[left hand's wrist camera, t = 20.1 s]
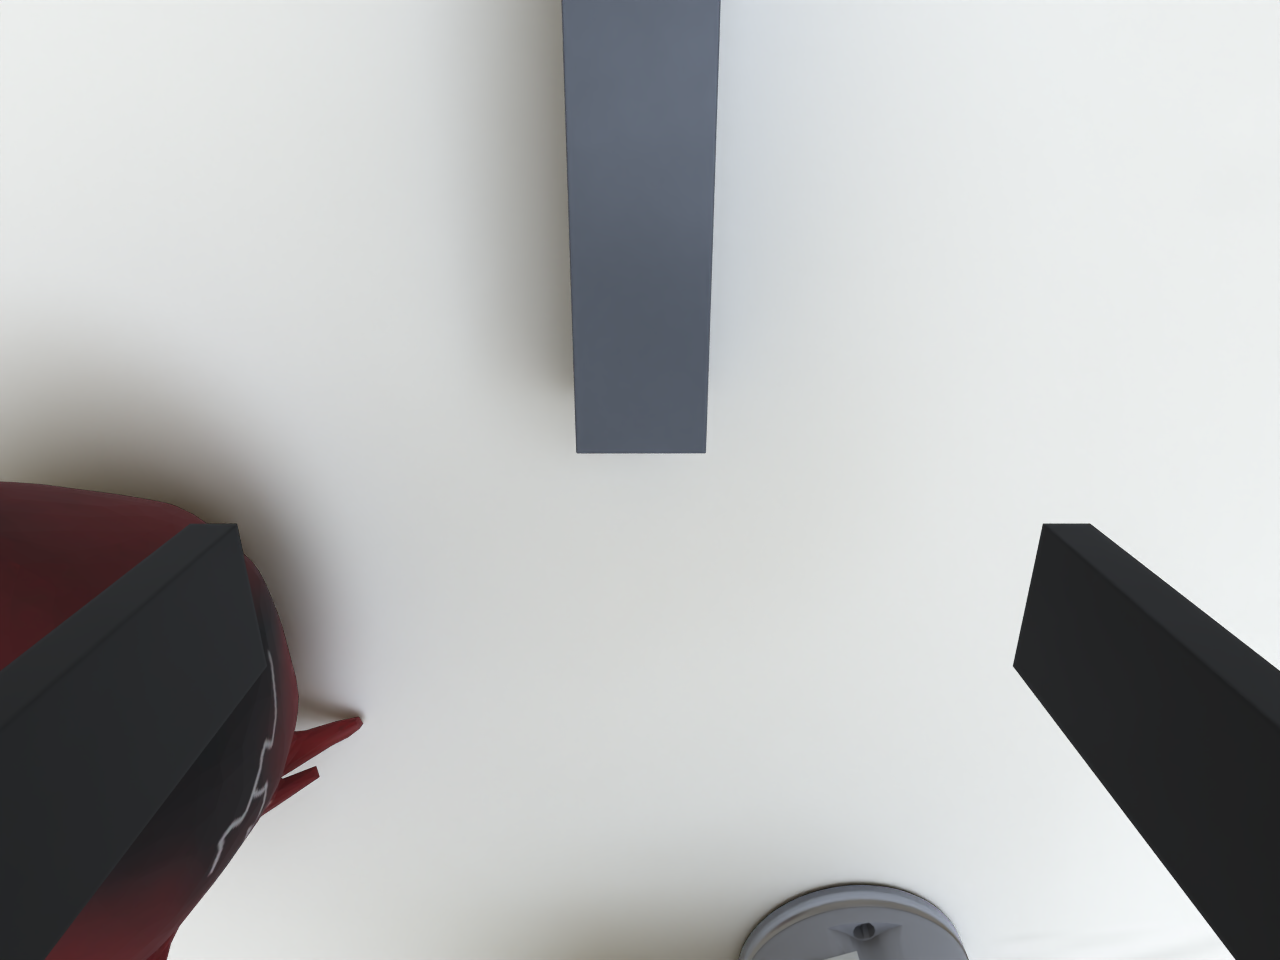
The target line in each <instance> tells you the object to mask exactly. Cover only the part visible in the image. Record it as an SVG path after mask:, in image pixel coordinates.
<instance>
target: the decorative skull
mask: <svg viewBox="0 0 1280 960" xmlns="http://www.w3.org/2000/svg"><path fill="white" fill-rule="evenodd" d="M189 524H207V523H205V522H204V521H202V520H201V519H200V518H198V517H197V516H195V515H194V514H192V513H190V512H188V511H185V510H183V509H181V508H179V507H177V506H175V505H171V504H168V503H164V502H159V501H154V500H148V499H142V498H136V497H130V496H124V495H118V494H111V493H103V492H96V491H88V490H81V489H73V488H65V487H58V486H50V485H42V484H31V483H17V482H0V671H1V670H2V669H3V668H5V667H6V666H7V665H9V664H10V663H11V662H12V661H14V660H15V659H16V658H18V657H19V656H20V655H21V654H23V653H24V652H25V651H27V650H28V649H29V648H30V647H32V646H33V645H34V644H36V643H37V642H38V641H39V640H41V639H42V638H43V637H45V636H46V635H47V634H48V633H50V632H51V631H52V630H54V629H55V628H56V627H57V626H59V625H60V624H61V623H63V622H64V621H65V620H66V619H68V618H69V617H70V616H72V615H73V614H74V613H76V612H77V611H78V610H79V609H81V608H82V607H83V606H85V605H86V604H87V603H88V602H90V601H91V600H92V599H94V598H95V597H96V596H97V595H99V594H100V593H101V592H103V591H104V590H105V589H106V588H108V587H109V586H110V585H112V584H113V583H114V582H115V581H117V580H118V579H119V578H121V577H122V576H123V575H124V574H126V573H127V572H128V571H130V570H131V569H132V568H133V567H135V566H136V565H137V564H139V563H140V562H141V561H143V560H144V559H145V558H146V557H148V556H149V555H150V554H152V553H153V552H154V551H155V550H157V549H158V548H159V547H161V546H162V545H163V544H164V543H166V542H167V541H168V540H170V539H171V538H172V537H173V536H175V535H176V534H177V533H179V532H180V531H181V530H182V529H184V528H185V527H186V526H188V525H189ZM243 555H244V554H243ZM244 559H245V564H246V569H247V573H248V578H249V583H250V588H251V592H252V597H253V602H254V607H255V611H256V616H257V621H258V626H259V630H260V635H261V640H262V645H263V649H264V654H265V659H266V663H267V667H266V668H265V669H264V671H263V672H262V673H261V675H260V676H259V677H258V679H257V680H256V681H255V683H254V684H253V685H252V687H251V688H250V689H249V691H248V692H247V693H246V695H245V696H244V697H243V698H242V700H241V701H240V702H239V704H238V705H237V706H236V708H235V709H234V710H233V712H232V713H231V714H230V716H229V717H228V718H227V720H226V721H225V722H224V724H223V725H222V726H221V727H220V729H219V730H218V731H217V733H216V734H215V735H214V737H213V738H212V739H211V741H210V742H209V743H208V745H207V746H206V747H205V749H204V750H203V751H202V753H201V754H200V755H199V757H198V758H197V759H196V760H195V762H194V763H193V764H192V766H191V767H190V768H189V770H188V771H187V772H186V774H185V775H184V776H183V778H182V779H181V780H180V782H179V783H178V784H177V786H176V787H175V788H174V789H173V791H172V792H171V793H170V795H169V796H168V797H167V799H166V800H165V801H164V803H163V804H162V805H161V807H160V808H159V809H158V811H157V812H156V813H155V815H154V816H153V817H152V818H151V820H150V821H149V822H148V824H147V825H146V826H145V828H144V829H143V830H142V832H141V833H140V834H139V836H138V837H137V838H136V840H135V841H134V842H133V844H132V845H131V846H130V847H129V849H128V850H127V851H126V853H125V854H124V855H123V857H122V858H121V859H120V861H119V862H118V863H117V865H116V866H115V867H114V869H113V870H112V871H111V873H110V874H109V875H108V877H107V878H106V879H105V880H104V882H103V883H102V884H101V886H100V887H99V888H98V890H97V891H96V892H95V894H94V895H93V896H92V898H91V899H90V900H89V902H88V903H87V904H86V906H85V907H84V908H83V909H82V911H81V912H80V913H79V915H78V916H77V917H76V919H75V920H74V921H73V923H72V924H71V925H70V927H69V928H68V929H67V931H66V932H65V933H64V935H63V936H62V937H61V938H60V940H59V941H58V942H57V944H56V945H55V946H54V948H53V949H52V950H51V952H50V953H49V954H48V956H47V957H46V958H45V960H167V957H168V953H169V949H170V945H171V942H172V940H173V938H174V936H175V934H176V932H177V930H178V928H179V926H180V925H181V923H182V922H183V921H184V920H185V918H186V917H187V916H188V915H189V913H190V912H191V911H192V910H193V908H194V907H195V906H196V905H197V903H198V902H199V901H200V900H201V898H202V897H203V896H204V895H205V893H206V892H207V891H208V890H209V888H210V887H211V886H212V885H213V883H214V882H215V881H216V879H217V878H218V877H219V875H220V874H221V873H222V871H223V870H224V869H225V867H226V866H227V865H228V863H229V862H230V860H231V859H232V858H233V856H234V855H235V853H236V852H237V850H238V849H239V848H240V846H241V845H242V843H243V842H244V840H245V839H246V837H247V836H248V835H249V833H250V832H251V830H252V829H253V827H254V826H255V825H256V823H257V822H258V820H259V818H260V817H261V816H262V815H264V814H265V813H267V812H268V811H270V810H271V809H273V808H274V807H276V806H277V805H279V804H280V803H282V802H283V801H285V800H286V799H288V798H289V797H291V796H292V795H294V794H295V793H297V792H298V791H300V790H301V789H303V788H304V787H305V786H307V785H308V784H310V783H311V782H313V781H314V780H316V779H317V778H319V777H320V776H319V773H318V770H317V767H316V766H315V767H312V768H310V769H307V770H304V771H302V772H299V773H297V774H294V775H291V776H289V777H286V778H284V779H282V778H281V777H282V776H284V775H286V774H287V773H289V772H290V771H292V770H294V769H295V768H297V767H298V766H300V765H302V764H303V763H305V762H306V761H308V760H310V759H311V758H313V757H314V756H316V755H318V754H319V753H321V752H322V751H324V750H326V749H327V748H329V747H330V746H332V745H334V744H336V743H338V742H340V741H342V740H344V739H346V738H348V737H349V736H350V735H352V734H353V733H354V732H356V731H357V730H358V729H360V727H361V726H362V725H363V722H362V721H361V719H360V718H359V717H355V718H350V719H345V720H340V721H335V722H332V723H328V724H325V725H322V726H319V727H315V728H312V729H309V730H305V731H295V732H294V730H295V726H296V720H297V713H298V699H299V696H298V689H297V682H296V676H295V672H294V669H293V665H292V661H291V657H290V654H289V650H288V646H287V642H286V639H285V635H284V631H283V627H282V624H281V621H280V619H279V616H278V613H277V610H276V608H275V605H274V603H273V600H272V598H271V595H270V593H269V590H268V588H267V586H266V584H265V581H264V580H263V578H262V576H261V574H260V572H259V570H258V569H257V568H256V566H255V565H254V564H253V562H252V561H251V560H250V559H249V558H248V557H247V556H246V555H244Z"/></svg>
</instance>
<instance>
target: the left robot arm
mask: <svg viewBox="0 0 1280 960" xmlns="http://www.w3.org/2000/svg"><path fill="white" fill-rule="evenodd" d="M266 667H267V663H266V659H265V654H264V649H263V645H262V640H261V635H260V630H259V626H258V621H257V616H256V611H255V607H254V602H253V597H252V592H251V588H250V583H249V578H248V573H247V569H246V564H245V559H244V555H243V550H242V545H241V540H240V536H239V531H238V526H237V524H189V525H188V526H186V527H185V528H184V529H182V530H181V531H180V532H179V533H177V534H176V535H175V536H173V537H172V538H171V539H170V540H168V541H167V542H166V543H164V544H163V545H162V546H161V547H159V548H158V549H157V550H155V551H154V552H153V553H152V554H150V555H149V556H148V557H146V558H145V559H144V560H143V561H141V562H140V563H139V564H137V565H136V566H135V567H133V568H132V569H131V570H130V571H128V572H127V573H126V574H124V575H123V576H122V577H121V578H119V579H118V580H117V581H115V582H114V583H113V584H112V585H110V586H109V587H108V588H106V589H105V590H104V591H103V592H101V593H100V594H99V595H97V596H96V597H95V598H94V599H92V600H91V601H90V602H88V603H87V604H86V605H85V606H83V607H82V608H81V609H79V610H78V611H77V612H76V613H74V614H73V615H72V616H70V617H69V618H68V619H66V620H65V621H64V622H63V623H61V624H60V625H59V626H57V627H56V628H55V629H54V630H52V631H51V632H50V633H48V634H47V635H46V636H45V637H43V638H42V639H41V640H39V641H38V642H37V643H36V644H34V645H33V646H32V647H30V648H29V649H28V650H27V651H25V652H24V653H23V654H21V655H20V656H19V657H18V658H16V659H15V660H14V661H12V662H11V663H10V664H9V665H7V666H6V667H5V668H3V669H2V670H1V671H0V960H45V958H46V957H47V956H48V954H49V953H50V952H51V950H52V949H53V948H54V946H55V945H56V944H57V942H58V941H59V940H60V938H61V937H62V936H63V935H64V933H65V932H66V931H67V929H68V928H69V927H70V925H71V924H72V923H73V921H74V920H75V919H76V917H77V916H78V915H79V913H80V912H81V911H82V909H83V908H84V907H85V906H86V904H87V903H88V902H89V900H90V899H91V898H92V896H93V895H94V894H95V892H96V891H97V890H98V888H99V887H100V886H101V884H102V883H103V882H104V880H105V879H106V878H107V877H108V875H109V874H110V873H111V871H112V870H113V869H114V867H115V866H116V865H117V863H118V862H119V861H120V859H121V858H122V857H123V855H124V854H125V853H126V851H127V850H128V849H129V847H130V846H131V845H132V844H133V842H134V841H135V840H136V838H137V837H138V836H139V834H140V833H141V832H142V830H143V829H144V828H145V826H146V825H147V824H148V822H149V821H150V820H151V818H152V817H153V816H154V815H155V813H156V812H157V811H158V809H159V808H160V807H161V805H162V804H163V803H164V801H165V800H166V799H167V797H168V796H169V795H170V793H171V792H172V791H173V789H174V788H175V787H176V786H177V784H178V783H179V782H180V780H181V779H182V778H183V776H184V775H185V774H186V772H187V771H188V770H189V768H190V767H191V766H192V764H193V763H194V762H195V760H196V759H197V758H198V757H199V755H200V754H201V753H202V751H203V750H204V749H205V747H206V746H207V745H208V743H209V742H210V741H211V739H212V738H213V737H214V735H215V734H216V733H217V731H218V730H219V729H220V727H221V726H222V725H223V724H224V722H225V721H226V720H227V718H228V717H229V716H230V714H231V713H232V712H233V710H234V709H235V708H236V706H237V705H238V704H239V702H240V701H241V700H242V698H243V697H244V696H245V695H246V693H247V692H248V691H249V689H250V688H251V687H252V685H253V684H254V683H255V681H256V680H257V679H258V677H259V676H260V675H261V673H262V672H263V671H264V669H265V668H266ZM1013 667H1014V668H1015V669H1016V671H1017V672H1018V673H1019V675H1020V676H1021V677H1022V679H1023V680H1024V681H1025V683H1026V684H1027V685H1028V687H1029V688H1030V689H1031V691H1032V692H1033V693H1034V695H1035V696H1036V697H1037V698H1038V700H1039V701H1040V702H1041V704H1042V705H1043V706H1044V708H1045V709H1046V710H1047V712H1048V713H1049V714H1050V716H1051V717H1052V718H1053V720H1054V721H1055V722H1056V724H1057V725H1058V726H1059V727H1060V729H1061V730H1062V731H1063V733H1064V734H1065V735H1066V737H1067V738H1068V739H1069V741H1070V742H1071V743H1072V745H1073V746H1074V747H1075V749H1076V750H1077V751H1078V753H1079V754H1080V755H1081V757H1082V758H1083V759H1084V760H1085V762H1086V763H1087V764H1088V766H1089V767H1090V768H1091V770H1092V771H1093V772H1094V774H1095V775H1096V776H1097V778H1098V779H1099V780H1100V782H1101V783H1102V784H1103V786H1104V787H1105V788H1106V789H1107V791H1108V792H1109V793H1110V795H1111V796H1112V797H1113V799H1114V800H1115V801H1116V803H1117V804H1118V805H1119V807H1120V808H1121V809H1122V811H1123V812H1124V813H1125V815H1126V816H1127V817H1128V818H1129V820H1130V821H1131V822H1132V824H1133V825H1134V826H1135V828H1136V829H1137V830H1138V832H1139V833H1140V834H1141V836H1142V837H1143V838H1144V840H1145V841H1146V842H1147V844H1148V845H1149V846H1150V847H1151V849H1152V850H1153V851H1154V853H1155V854H1156V855H1157V857H1158V858H1159V859H1160V861H1161V862H1162V863H1163V865H1164V866H1165V867H1166V869H1167V870H1168V871H1169V873H1170V874H1171V875H1172V877H1173V878H1174V879H1175V880H1176V882H1177V883H1178V884H1179V886H1180V887H1181V888H1182V890H1183V891H1184V892H1185V894H1186V895H1187V896H1188V898H1189V899H1190V900H1191V902H1192V903H1193V904H1194V906H1195V907H1196V908H1197V909H1198V911H1199V912H1200V913H1201V915H1202V916H1203V917H1204V919H1205V920H1206V921H1207V923H1208V924H1209V925H1210V927H1211V928H1212V929H1213V931H1214V932H1215V933H1216V935H1217V936H1218V937H1219V938H1220V940H1221V941H1222V942H1223V944H1224V945H1225V946H1226V948H1227V949H1228V950H1229V952H1230V953H1231V954H1232V956H1233V957H1234V958H1235V960H1280V671H1279V670H1278V669H1277V668H1275V667H1274V666H1273V665H1271V664H1270V663H1269V662H1268V661H1266V660H1265V659H1264V658H1262V657H1261V656H1260V655H1259V654H1257V653H1256V652H1255V651H1253V650H1252V649H1251V648H1250V647H1248V646H1247V645H1246V644H1244V643H1243V642H1242V641H1241V640H1239V639H1238V638H1237V637H1235V636H1234V635H1233V634H1232V633H1230V632H1229V631H1228V630H1226V629H1225V628H1224V627H1223V626H1221V625H1220V624H1219V623H1217V622H1216V621H1215V620H1214V619H1212V618H1211V617H1210V616H1208V615H1207V614H1206V613H1204V612H1203V611H1202V610H1201V609H1199V608H1198V607H1197V606H1195V605H1194V604H1193V603H1192V602H1190V601H1189V600H1188V599H1186V598H1185V597H1184V596H1183V595H1181V594H1180V593H1179V592H1177V591H1176V590H1175V589H1174V588H1172V587H1171V586H1170V585H1168V584H1167V583H1166V582H1165V581H1163V580H1162V579H1161V578H1159V577H1158V576H1157V575H1156V574H1154V573H1153V572H1152V571H1150V570H1149V569H1148V568H1147V567H1145V566H1144V565H1143V564H1141V563H1140V562H1139V561H1137V560H1136V559H1135V558H1134V557H1132V556H1131V555H1130V554H1128V553H1127V552H1126V551H1125V550H1123V549H1122V548H1121V547H1119V546H1118V545H1117V544H1116V543H1114V542H1113V541H1112V540H1110V539H1109V538H1108V537H1107V536H1105V535H1104V534H1103V533H1101V532H1100V531H1099V530H1098V529H1096V528H1095V527H1094V526H1092V525H1091V524H1043V526H1042V531H1041V536H1040V540H1039V545H1038V550H1037V555H1036V559H1035V564H1034V569H1033V573H1032V578H1031V583H1030V588H1029V592H1028V597H1027V602H1026V607H1025V611H1024V616H1023V621H1022V626H1021V630H1020V635H1019V640H1018V644H1017V649H1016V654H1015V659H1014V663H1013ZM739 960H969V959H968V957H967V954H966V952H965V949H964V947H963V945H962V942H961V940H960V937H959V935H958V933H957V931H956V929H955V927H954V925H953V924H952V923H951V921H950V920H949V919H948V918H947V917H946V916H945V915H944V913H943V912H941V911H940V910H939V909H938V908H937V907H935V906H934V905H932V904H931V903H929V902H928V901H926V900H924V899H922V898H920V897H918V896H916V895H913V894H911V893H908V892H905V891H901V890H898V889H893V888H889V887H882V886H873V885H850V886H840V887H833V888H828V889H823V890H819V891H816V892H813V893H809V894H807V895H804V896H801V897H799V898H797V899H794V900H792V901H790V902H788V903H786V904H785V905H783V906H781V907H779V908H778V909H776V910H775V911H774V912H772V913H771V914H769V915H768V916H767V917H766V918H765V919H763V920H762V921H761V922H760V923H759V924H758V925H757V926H756V928H755V929H754V930H753V931H752V932H751V934H750V935H749V937H748V938H747V940H746V942H745V944H744V946H743V948H742V950H741V953H740V956H739Z"/></svg>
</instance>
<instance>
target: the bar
mask: <svg viewBox="0 0 1280 960" xmlns="http://www.w3.org/2000/svg"><path fill="white" fill-rule="evenodd" d="M720 2H721V0H562V29H563V60H564V90H565V121H566V151H567V182H568V212H569V243H570V274H571V304H572V335H573V365H574V396H575V426H576V452H577V453H706V432H707V401H708V371H709V340H710V309H711V278H712V248H713V217H714V186H715V156H716V125H717V94H718V64H719V33H720Z"/></svg>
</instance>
